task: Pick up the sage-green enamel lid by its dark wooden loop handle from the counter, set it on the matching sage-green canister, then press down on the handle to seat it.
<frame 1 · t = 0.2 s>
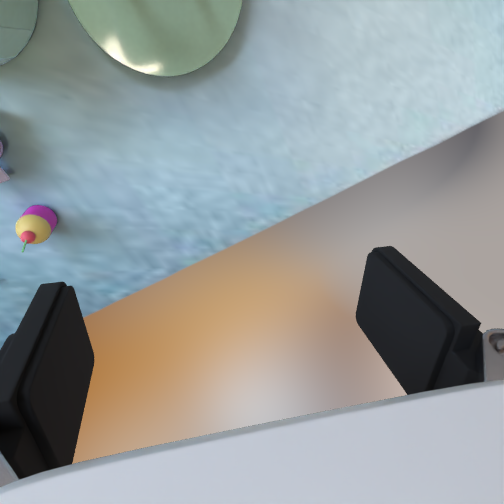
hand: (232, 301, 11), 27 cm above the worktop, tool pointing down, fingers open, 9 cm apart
candies: (10, 206, 34), on the worktop
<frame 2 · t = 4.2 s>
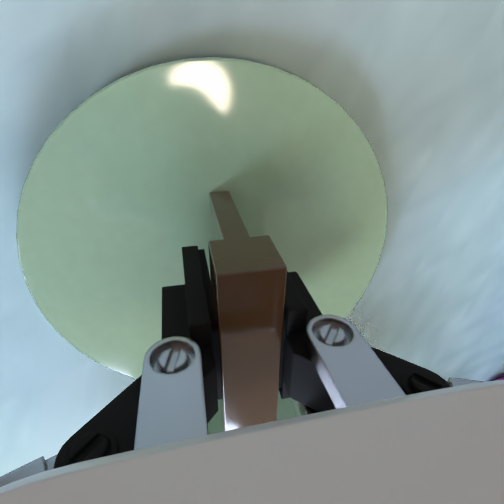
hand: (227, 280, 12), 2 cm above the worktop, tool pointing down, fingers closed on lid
canister: (228, 456, 22), on the worktop
lid: (219, 254, 14), point 1 cm above the worktop, touching gripper
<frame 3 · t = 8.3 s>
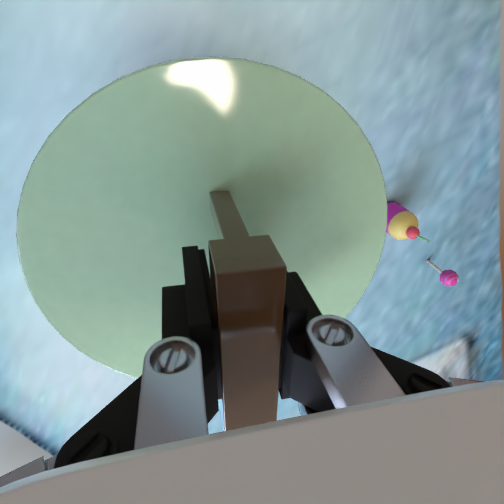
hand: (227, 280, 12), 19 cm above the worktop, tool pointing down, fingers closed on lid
candies: (371, 235, 37), on the worktop
lid: (220, 254, 14), point 17 cm above the worktop, touching gripper
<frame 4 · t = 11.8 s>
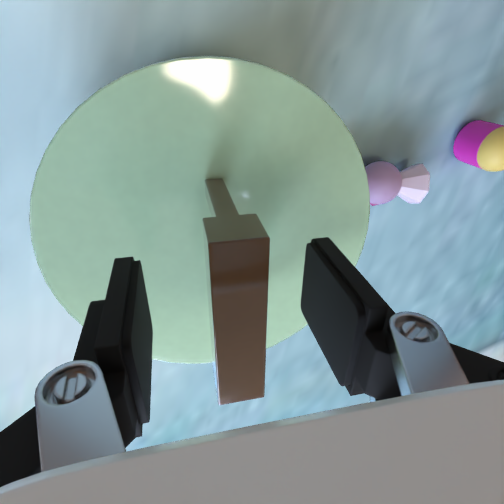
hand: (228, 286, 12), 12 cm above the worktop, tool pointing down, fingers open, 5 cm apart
candies: (441, 174, 26), on the worktop
lid: (215, 238, 15), point 8 cm above the worktop, touching canister
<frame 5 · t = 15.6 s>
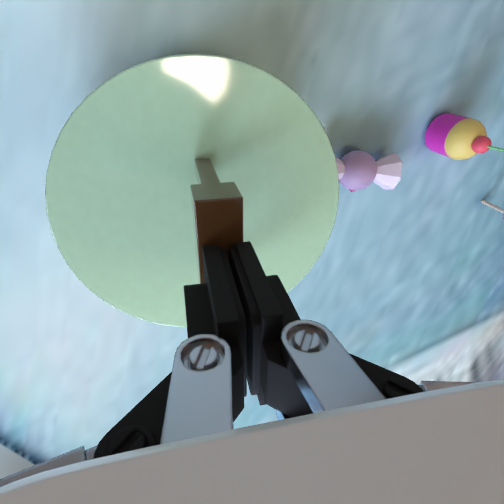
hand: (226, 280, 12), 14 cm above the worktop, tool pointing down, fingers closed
candies: (415, 163, 28), on the worktop
lid: (204, 212, 17), point 8 cm above the worktop, touching canister, gripper
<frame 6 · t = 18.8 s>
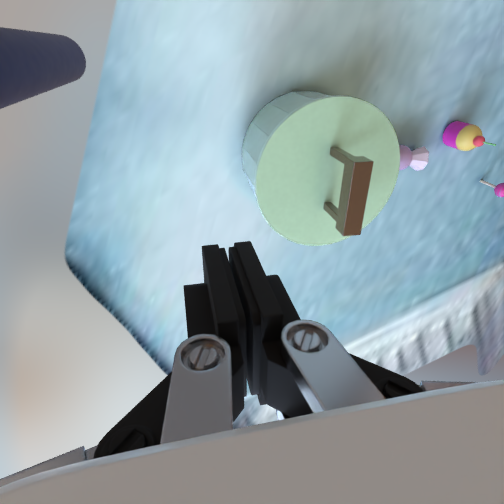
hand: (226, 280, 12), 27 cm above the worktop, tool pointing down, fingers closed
candies: (435, 154, 43), on the worktop
canister: (297, 153, 39), on the worktop
lid: (327, 176, 32), point 8 cm above the worktop, touching canister
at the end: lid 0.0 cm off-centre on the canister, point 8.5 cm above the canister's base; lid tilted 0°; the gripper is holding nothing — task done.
